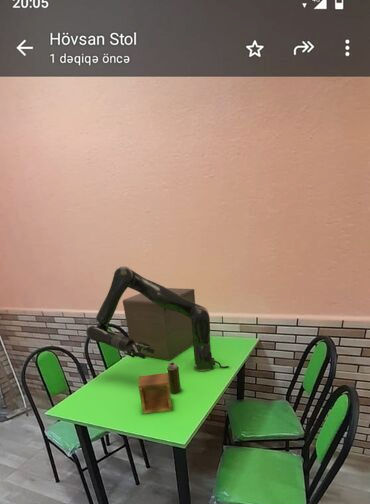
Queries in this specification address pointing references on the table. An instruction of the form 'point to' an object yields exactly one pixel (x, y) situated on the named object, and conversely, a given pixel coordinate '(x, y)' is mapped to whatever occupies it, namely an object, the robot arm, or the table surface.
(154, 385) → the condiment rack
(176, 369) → the pepper mill
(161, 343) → the storage cube
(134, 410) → the table surface
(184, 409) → the table surface
